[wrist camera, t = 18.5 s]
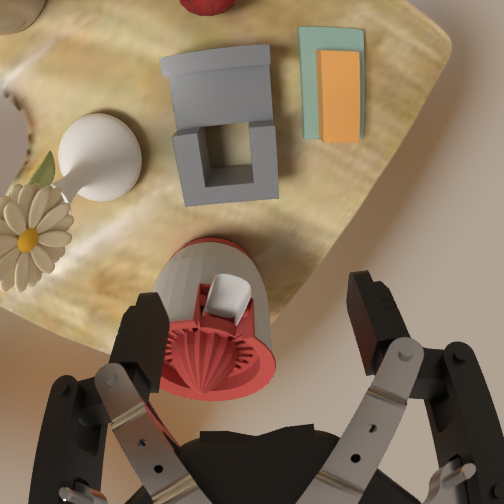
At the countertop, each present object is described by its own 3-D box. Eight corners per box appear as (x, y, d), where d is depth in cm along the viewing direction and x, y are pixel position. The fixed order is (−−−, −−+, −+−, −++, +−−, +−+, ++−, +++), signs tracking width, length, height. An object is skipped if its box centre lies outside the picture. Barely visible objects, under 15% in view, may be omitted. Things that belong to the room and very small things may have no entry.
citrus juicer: (292, 234, 43) (316, 361, 26) (244, 317, 52) (244, 430, 36) (179, 195, 39) (136, 315, 23) (151, 290, 48) (120, 403, 32)
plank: (315, 50, 28) (320, 50, 26) (351, 51, 28) (359, 51, 26) (318, 136, 34) (323, 142, 32) (352, 135, 33) (359, 142, 31)
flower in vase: (118, 209, 40) (34, 367, 20) (53, 165, 35) (-68, 292, 15) (171, 132, 34) (72, 275, 14) (96, 81, 29) (-72, 163, 9)
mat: (297, 27, 27) (298, 26, 26) (360, 30, 27) (363, 29, 26) (303, 137, 35) (304, 139, 34) (360, 136, 34) (363, 138, 34)
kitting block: (172, 56, 29) (159, 57, 24) (265, 45, 28) (269, 43, 24) (192, 185, 38) (185, 206, 34) (275, 178, 38) (279, 198, 33)
